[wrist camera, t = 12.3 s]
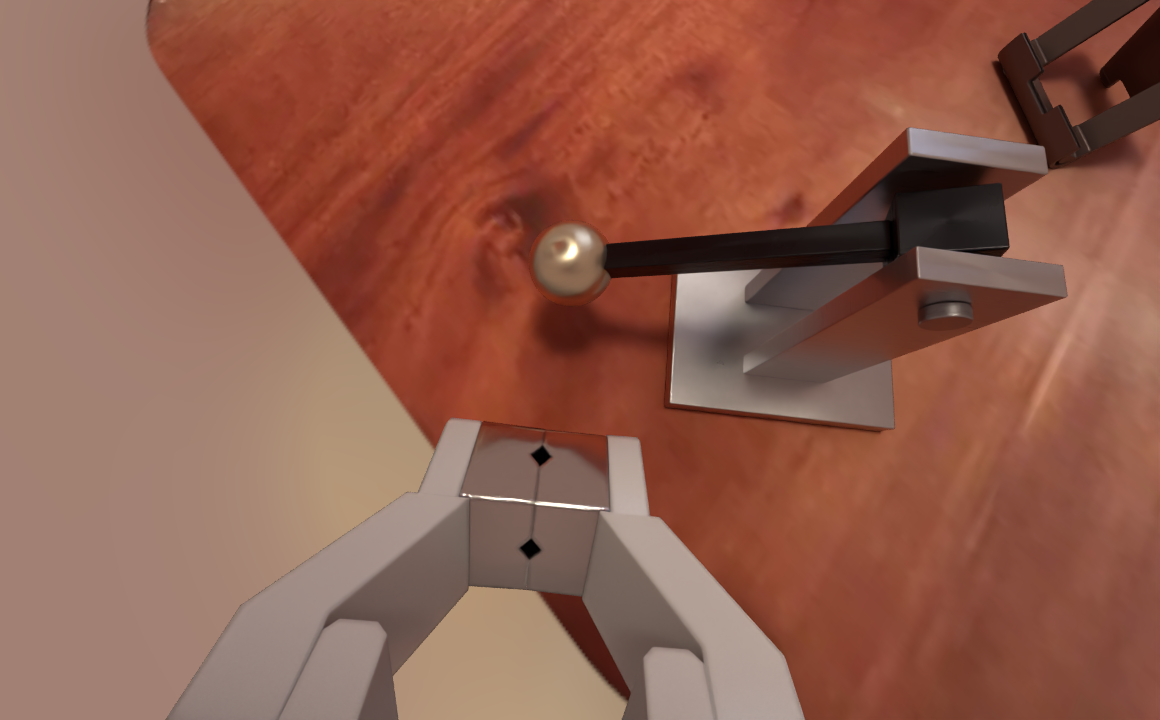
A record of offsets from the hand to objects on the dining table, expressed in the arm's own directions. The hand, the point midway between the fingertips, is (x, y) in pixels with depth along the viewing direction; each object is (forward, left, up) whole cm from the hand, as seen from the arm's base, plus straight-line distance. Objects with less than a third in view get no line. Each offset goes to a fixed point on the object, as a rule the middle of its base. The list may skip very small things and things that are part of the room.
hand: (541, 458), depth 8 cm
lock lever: (+7, +9, -10) cm, 15 cm away
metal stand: (+12, +9, -18) cm, 23 cm away
